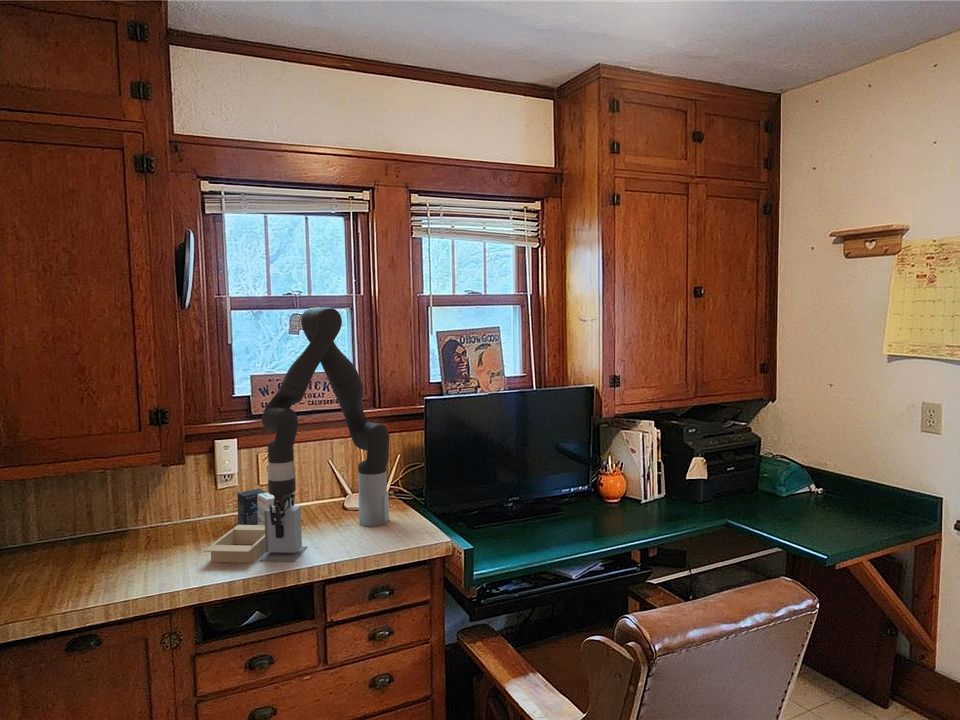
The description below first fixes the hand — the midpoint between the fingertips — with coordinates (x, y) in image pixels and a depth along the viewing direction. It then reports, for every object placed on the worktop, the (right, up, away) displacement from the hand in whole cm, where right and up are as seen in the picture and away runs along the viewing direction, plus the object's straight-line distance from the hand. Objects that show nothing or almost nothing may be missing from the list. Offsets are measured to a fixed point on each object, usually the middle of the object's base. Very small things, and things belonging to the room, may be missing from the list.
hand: (283, 534), depth 190 cm
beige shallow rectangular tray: (-12, -6, +2) cm, 14 cm away
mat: (0, -6, 0) cm, 6 cm away
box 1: (-19, -4, +29) cm, 34 cm away
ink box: (-10, -5, +20) cm, 23 cm away
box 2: (0, -4, 0) cm, 4 cm away
